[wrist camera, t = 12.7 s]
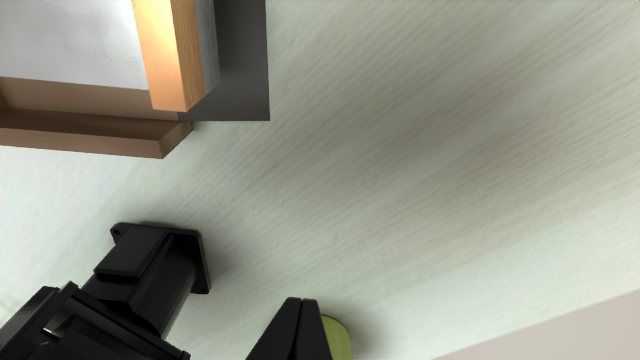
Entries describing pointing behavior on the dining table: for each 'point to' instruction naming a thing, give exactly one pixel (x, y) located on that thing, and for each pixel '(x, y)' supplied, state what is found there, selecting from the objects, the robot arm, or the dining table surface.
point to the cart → (115, 45)
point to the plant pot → (337, 339)
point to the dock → (142, 99)
